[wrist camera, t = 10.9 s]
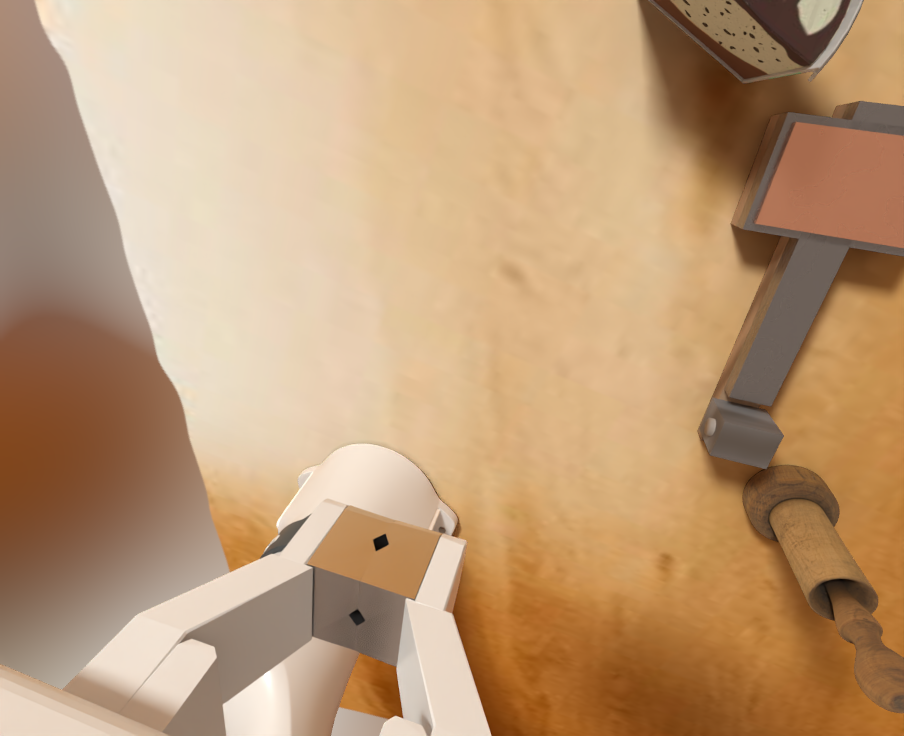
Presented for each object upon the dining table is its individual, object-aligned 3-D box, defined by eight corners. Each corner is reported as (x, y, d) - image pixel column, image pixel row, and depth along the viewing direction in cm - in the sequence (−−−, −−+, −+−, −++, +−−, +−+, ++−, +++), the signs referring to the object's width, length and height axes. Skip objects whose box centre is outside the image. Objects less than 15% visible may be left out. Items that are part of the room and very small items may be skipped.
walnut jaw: (778, 450, 40) (804, 490, 36) (655, 421, 42) (664, 455, 37) (951, 120, 30) (1023, 112, 25) (778, 98, 31) (812, 88, 26)
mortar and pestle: (733, 473, 42) (820, 666, 26) (818, 456, 40) (972, 656, 24) (752, 532, 44) (845, 745, 28) (835, 519, 42) (989, 745, 26)
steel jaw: (813, 408, 37) (824, 420, 35) (678, 378, 39) (682, 388, 37) (969, 118, 28) (993, 115, 27) (786, 96, 30) (798, 92, 28)
